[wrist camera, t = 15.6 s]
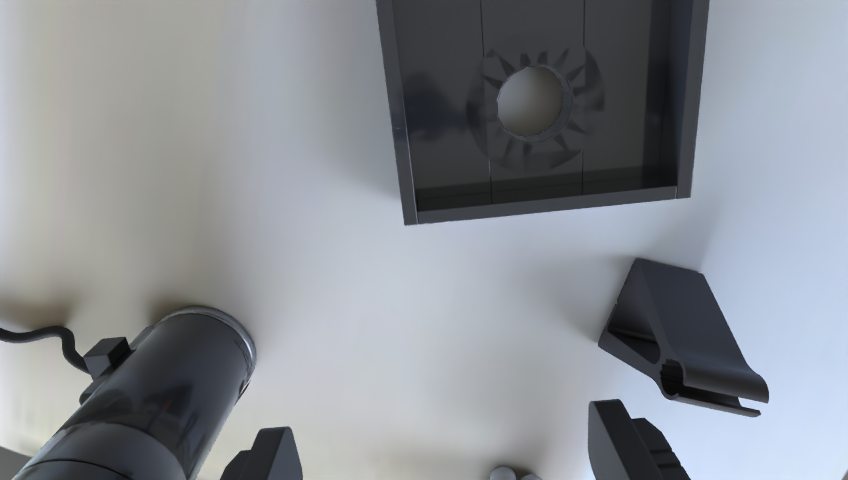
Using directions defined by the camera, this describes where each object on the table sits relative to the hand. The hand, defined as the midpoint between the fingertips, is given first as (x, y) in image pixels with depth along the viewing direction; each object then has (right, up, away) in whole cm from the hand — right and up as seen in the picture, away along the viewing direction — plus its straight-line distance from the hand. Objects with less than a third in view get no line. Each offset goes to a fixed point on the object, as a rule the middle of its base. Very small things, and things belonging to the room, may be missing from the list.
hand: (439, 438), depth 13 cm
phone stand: (+19, -1, +31) cm, 36 cm away
